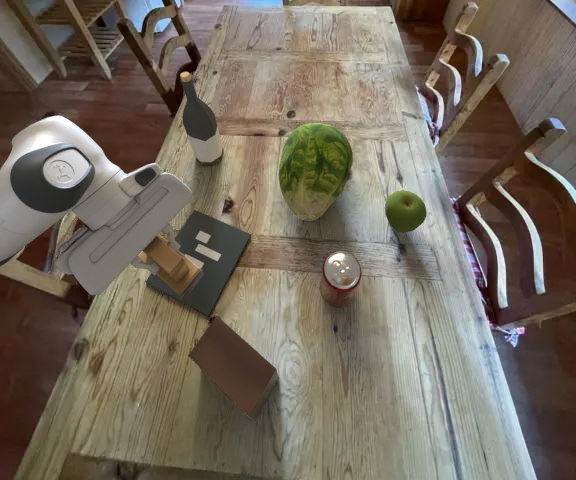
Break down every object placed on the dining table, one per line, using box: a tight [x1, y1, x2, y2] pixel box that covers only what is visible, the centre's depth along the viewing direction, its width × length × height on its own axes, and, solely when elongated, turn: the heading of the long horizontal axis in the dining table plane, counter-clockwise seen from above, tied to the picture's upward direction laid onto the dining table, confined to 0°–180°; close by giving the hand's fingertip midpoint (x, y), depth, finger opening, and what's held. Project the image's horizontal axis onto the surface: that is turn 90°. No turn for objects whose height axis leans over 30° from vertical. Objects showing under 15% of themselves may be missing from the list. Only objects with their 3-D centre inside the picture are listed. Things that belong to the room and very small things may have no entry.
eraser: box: [138, 234, 204, 301], centre depth 58 cm, size 5×11×8 cm, turn 55°
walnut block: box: [187, 315, 280, 422], centre depth 58 cm, size 7×13×11 cm, turn 55°
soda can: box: [319, 249, 363, 309], centre depth 67 cm, size 7×7×12 cm
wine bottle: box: [179, 71, 224, 166], centre depth 87 cm, size 8×8×30 cm
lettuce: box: [278, 122, 354, 222], centre depth 83 cm, size 18×23×19 cm
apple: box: [384, 189, 427, 234], centre depth 77 cm, size 9×8×12 cm
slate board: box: [145, 209, 252, 318], centre depth 76 cm, size 18×16×1 cm
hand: (167, 260), depth 57 cm, fingers closed on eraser, 3 cm apart
